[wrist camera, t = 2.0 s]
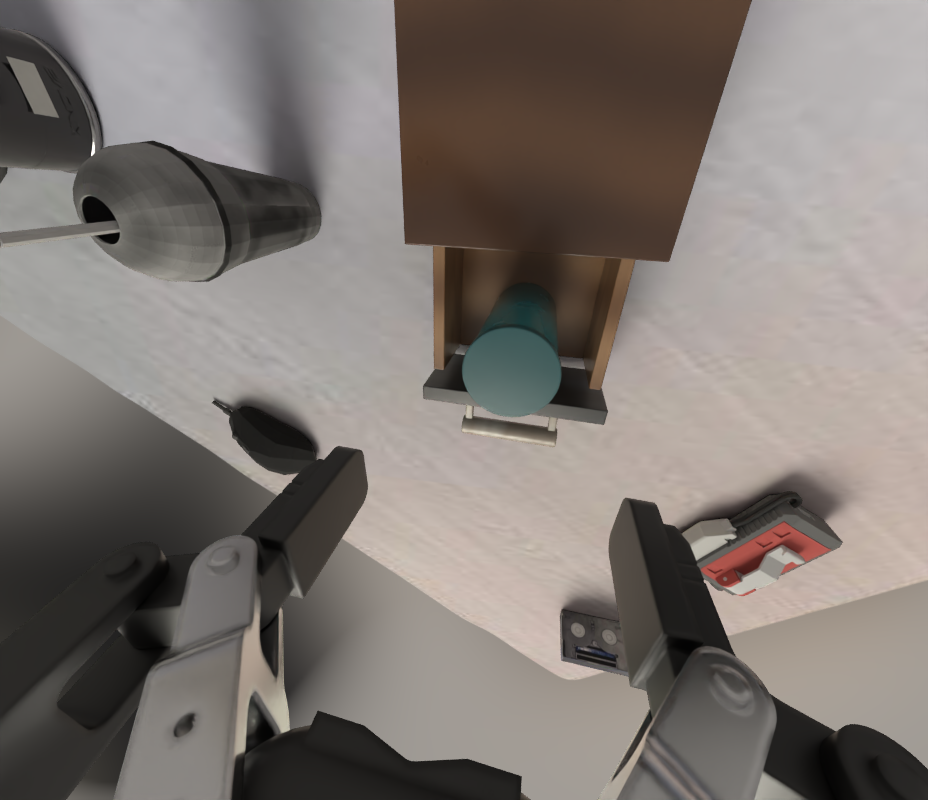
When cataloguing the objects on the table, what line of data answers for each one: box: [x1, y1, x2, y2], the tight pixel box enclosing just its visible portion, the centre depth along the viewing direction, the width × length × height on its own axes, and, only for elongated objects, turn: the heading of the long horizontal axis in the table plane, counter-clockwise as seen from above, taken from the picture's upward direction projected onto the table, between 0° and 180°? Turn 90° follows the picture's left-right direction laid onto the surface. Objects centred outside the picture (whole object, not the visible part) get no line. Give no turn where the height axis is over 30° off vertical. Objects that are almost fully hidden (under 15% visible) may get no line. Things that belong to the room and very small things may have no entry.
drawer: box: [423, 246, 635, 447], centre depth 26 cm, size 19×14×7 cm
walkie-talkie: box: [682, 491, 843, 596], centre depth 36 cm, size 9×4×20 cm
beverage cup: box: [0, 141, 321, 282], centre depth 21 cm, size 7×7×20 cm
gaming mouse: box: [212, 401, 317, 475], centre depth 42 cm, size 6×15×4 cm, turn 61°
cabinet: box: [394, 0, 752, 262], centre depth 19 cm, size 16×15×9 cm
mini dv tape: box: [560, 610, 629, 677], centre depth 46 cm, size 8×2×6 cm, turn 89°
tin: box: [462, 283, 562, 417], centre depth 23 cm, size 5×5×12 cm
